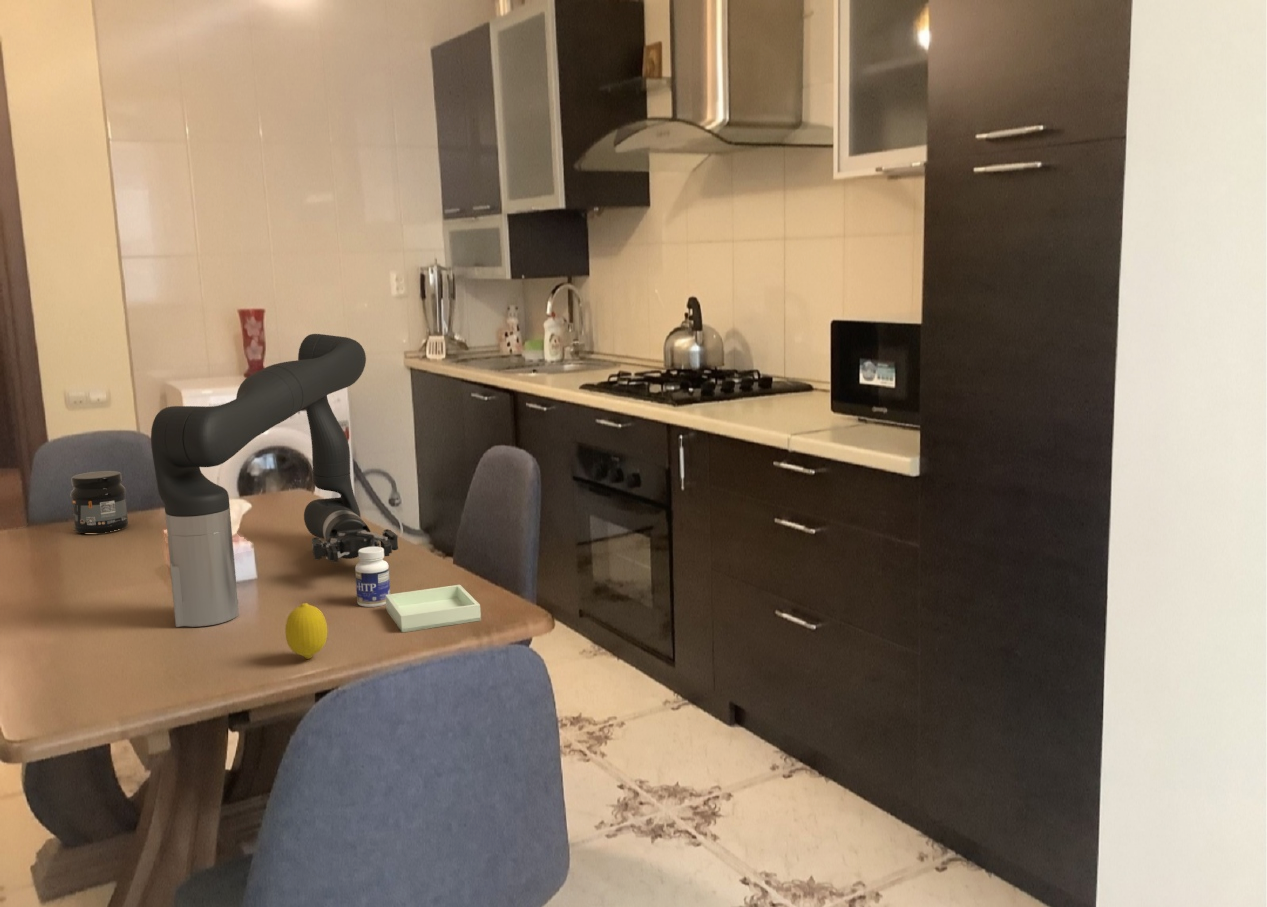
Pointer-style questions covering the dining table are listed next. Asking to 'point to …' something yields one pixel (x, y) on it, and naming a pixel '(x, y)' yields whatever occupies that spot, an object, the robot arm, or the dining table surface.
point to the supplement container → (98, 502)
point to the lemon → (306, 630)
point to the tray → (432, 608)
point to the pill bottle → (372, 577)
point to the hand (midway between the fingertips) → (361, 553)
